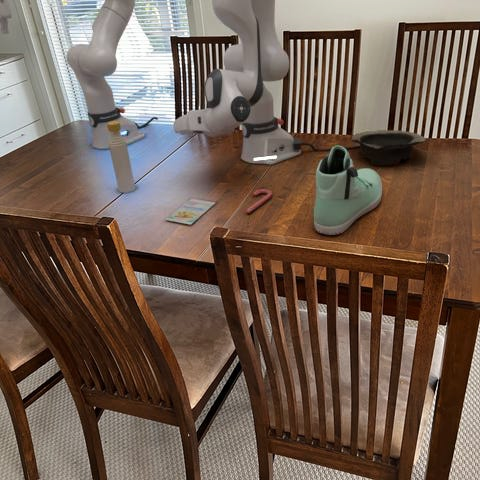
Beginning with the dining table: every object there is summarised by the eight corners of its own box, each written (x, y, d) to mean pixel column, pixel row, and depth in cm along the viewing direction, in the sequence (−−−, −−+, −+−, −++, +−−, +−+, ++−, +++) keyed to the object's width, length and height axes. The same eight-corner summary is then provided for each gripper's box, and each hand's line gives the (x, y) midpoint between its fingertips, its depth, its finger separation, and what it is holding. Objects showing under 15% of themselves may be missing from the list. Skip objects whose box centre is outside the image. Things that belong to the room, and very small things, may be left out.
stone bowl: (384, 176, 155) (384, 148, 151) (336, 158, 175) (335, 133, 171) (440, 157, 164) (442, 130, 159) (388, 142, 184) (389, 118, 180)
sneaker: (389, 187, 148) (396, 123, 138) (356, 242, 123) (361, 168, 112) (346, 181, 154) (350, 119, 144) (306, 232, 129) (307, 161, 118)
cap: (109, 128, 152) (107, 121, 151) (121, 127, 152) (120, 120, 151) (107, 132, 149) (106, 125, 148) (120, 131, 149) (118, 124, 148)
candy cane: (232, 210, 143) (232, 206, 142) (259, 190, 153) (259, 186, 152) (249, 215, 140) (248, 210, 139) (276, 194, 150) (275, 190, 149)
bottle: (119, 186, 164) (105, 122, 152) (136, 184, 164) (123, 120, 152) (117, 193, 159) (103, 127, 147) (134, 191, 159) (121, 125, 147)
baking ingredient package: (164, 218, 140) (191, 197, 151) (165, 220, 140) (191, 199, 151) (190, 223, 136) (215, 201, 148) (190, 225, 136) (216, 203, 148)
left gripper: (8, -16, 148) (22, 33, 155) (-17, -15, 161) (-3, 29, 168) (-12, -13, 144) (3, 36, 151) (-36, -13, 157) (-21, 32, 164)
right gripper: (240, 114, 157) (219, 125, 169) (184, 109, 146) (165, 121, 157) (242, 133, 157) (220, 143, 169) (186, 130, 146) (167, 140, 157)
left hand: (0, 32), depth 160 cm, fingers open, 8 cm apart
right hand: (193, 132), depth 163 cm, fingers open, 8 cm apart
